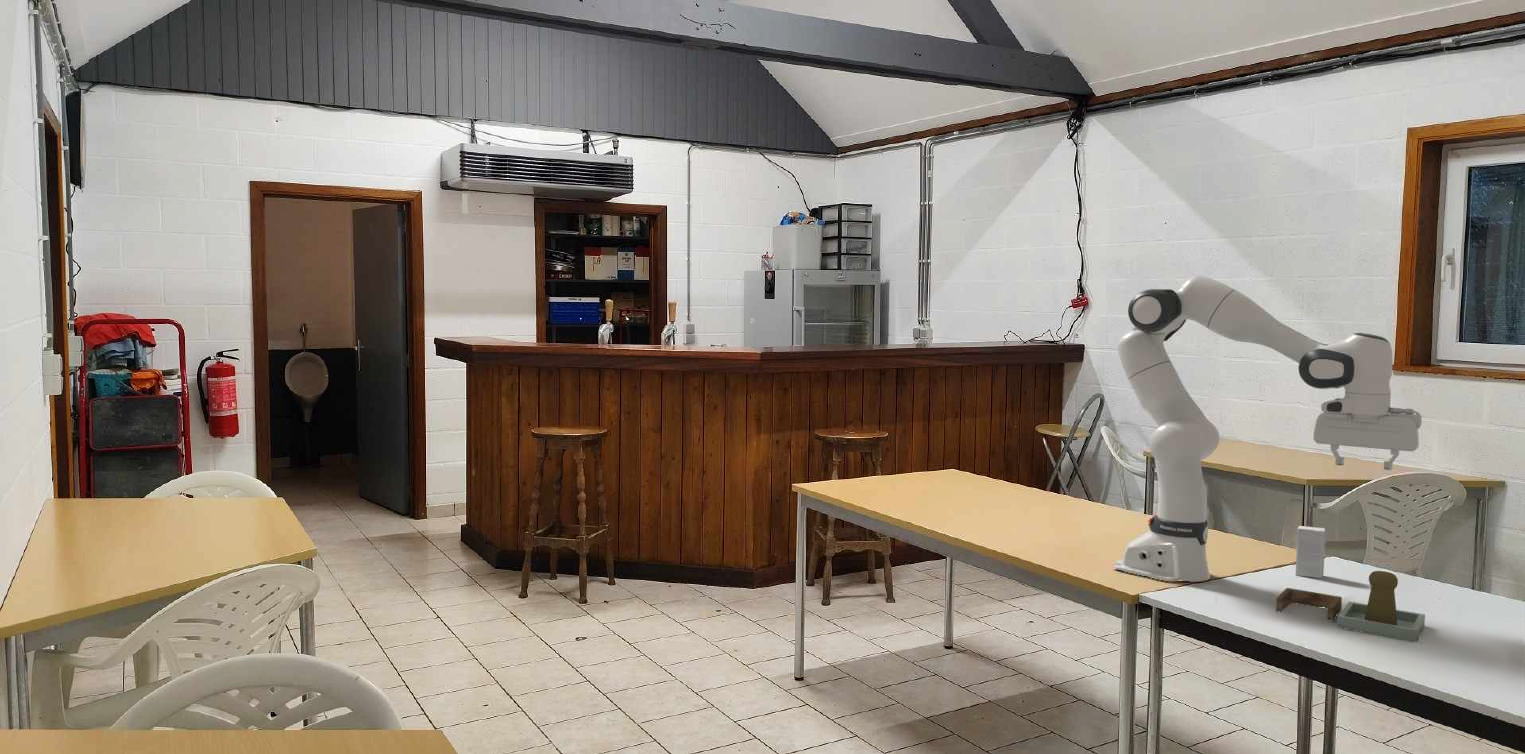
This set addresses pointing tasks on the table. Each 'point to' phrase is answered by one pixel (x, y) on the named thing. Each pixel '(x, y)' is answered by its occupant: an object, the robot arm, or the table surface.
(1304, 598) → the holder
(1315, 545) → the skincare box
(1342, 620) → the tray
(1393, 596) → the brown knobbed cone
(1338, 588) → the table surface
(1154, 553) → the robot arm
